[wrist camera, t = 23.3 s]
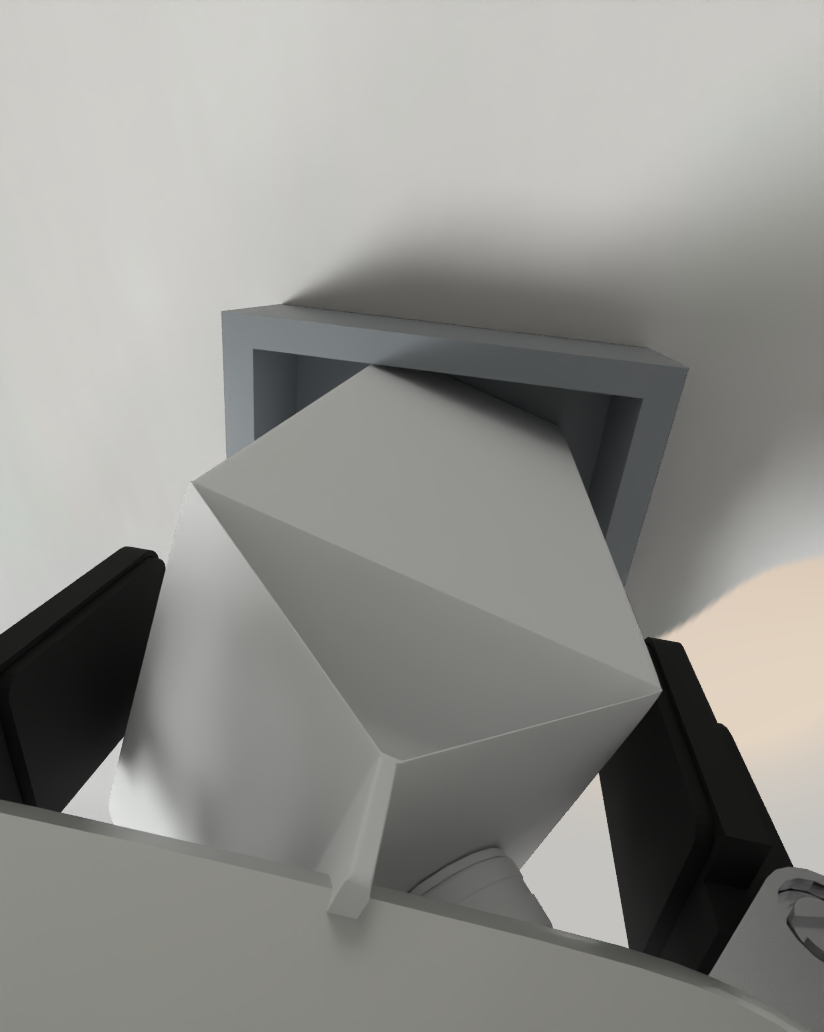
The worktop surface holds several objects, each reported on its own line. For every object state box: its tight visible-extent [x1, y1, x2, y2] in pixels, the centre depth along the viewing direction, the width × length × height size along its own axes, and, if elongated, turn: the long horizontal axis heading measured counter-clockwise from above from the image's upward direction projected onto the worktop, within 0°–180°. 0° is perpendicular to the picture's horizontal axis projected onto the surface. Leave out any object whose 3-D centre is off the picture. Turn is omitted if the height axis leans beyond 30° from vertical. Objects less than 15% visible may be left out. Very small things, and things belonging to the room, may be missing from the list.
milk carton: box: [108, 364, 662, 928], centre depth 14 cm, size 7×7×19 cm
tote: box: [221, 304, 689, 587], centre depth 22 cm, size 14×18×5 cm
